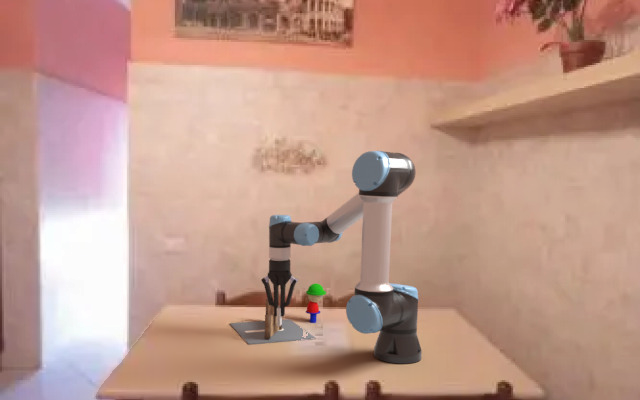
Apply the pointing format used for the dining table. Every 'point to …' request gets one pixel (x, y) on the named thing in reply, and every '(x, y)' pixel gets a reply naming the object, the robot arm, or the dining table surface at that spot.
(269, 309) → the fence fixed
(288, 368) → the dining table surface
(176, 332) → the dining table surface
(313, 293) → the toy
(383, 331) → the robot arm
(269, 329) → the fence panel
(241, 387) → the dining table surface
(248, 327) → the mat
